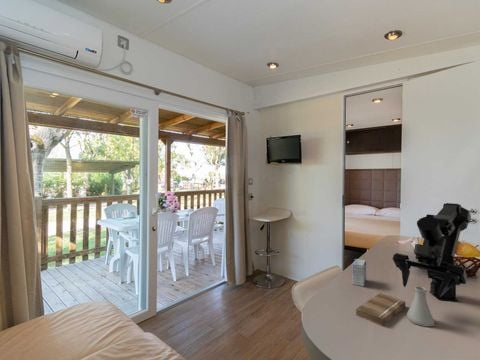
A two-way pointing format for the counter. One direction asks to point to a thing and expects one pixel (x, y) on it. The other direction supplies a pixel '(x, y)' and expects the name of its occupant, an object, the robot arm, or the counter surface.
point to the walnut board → (380, 308)
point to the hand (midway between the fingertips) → (420, 291)
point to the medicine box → (359, 272)
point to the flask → (420, 309)
